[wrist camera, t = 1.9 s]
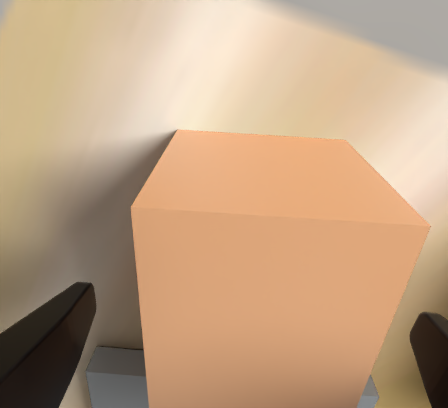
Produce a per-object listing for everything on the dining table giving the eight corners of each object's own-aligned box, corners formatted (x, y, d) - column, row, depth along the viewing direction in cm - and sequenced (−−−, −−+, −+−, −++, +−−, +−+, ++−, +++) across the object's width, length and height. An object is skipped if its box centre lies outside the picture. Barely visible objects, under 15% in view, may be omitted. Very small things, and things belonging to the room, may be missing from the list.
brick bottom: (344, 138, 10) (430, 226, 5) (300, 326, 14) (331, 468, 9) (178, 128, 10) (130, 207, 5) (180, 318, 14) (153, 456, 9)
